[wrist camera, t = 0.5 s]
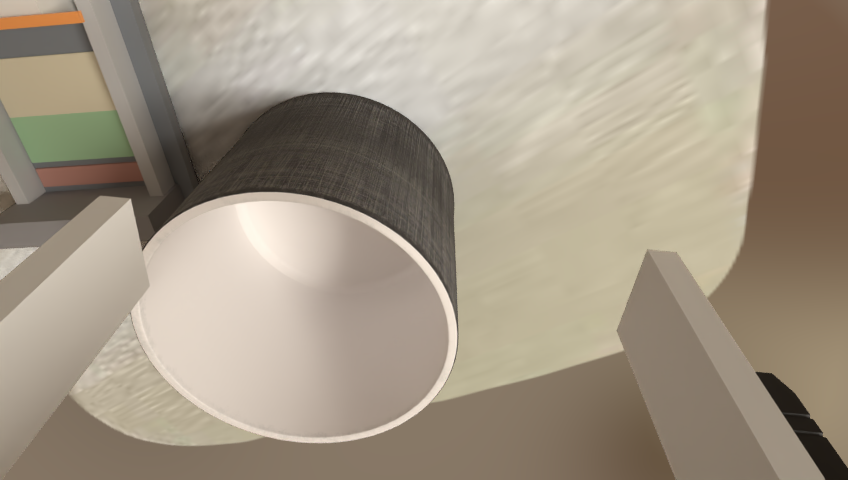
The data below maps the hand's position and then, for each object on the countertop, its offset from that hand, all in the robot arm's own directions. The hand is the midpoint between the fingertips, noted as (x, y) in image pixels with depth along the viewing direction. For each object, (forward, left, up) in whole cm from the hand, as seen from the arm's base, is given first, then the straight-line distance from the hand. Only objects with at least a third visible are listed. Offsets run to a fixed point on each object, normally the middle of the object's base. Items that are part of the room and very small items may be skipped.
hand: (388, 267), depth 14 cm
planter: (+11, -7, -26) cm, 30 cm away
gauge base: (-1, -25, -26) cm, 36 cm away
